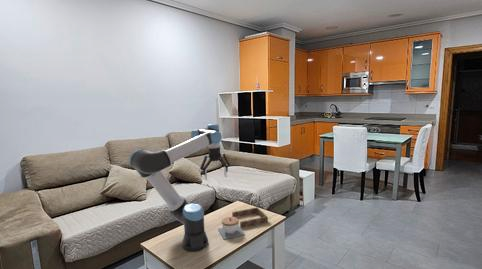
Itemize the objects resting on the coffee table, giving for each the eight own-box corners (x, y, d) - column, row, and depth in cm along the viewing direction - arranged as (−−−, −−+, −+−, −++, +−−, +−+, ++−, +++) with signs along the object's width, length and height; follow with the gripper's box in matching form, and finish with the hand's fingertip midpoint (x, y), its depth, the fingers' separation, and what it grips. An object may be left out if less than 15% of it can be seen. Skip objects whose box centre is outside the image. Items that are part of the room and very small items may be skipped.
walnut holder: (240, 228, 177) (240, 222, 177) (232, 217, 194) (232, 212, 193) (267, 222, 184) (267, 216, 184) (257, 212, 200) (257, 207, 200)
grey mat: (223, 239, 164) (223, 239, 164) (217, 229, 177) (217, 228, 177) (245, 235, 169) (245, 234, 169) (237, 225, 182) (237, 224, 182)
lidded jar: (238, 235, 167) (238, 221, 166) (221, 236, 167) (220, 222, 166) (239, 227, 178) (238, 213, 176) (223, 227, 178) (222, 214, 177)
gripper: (196, 150, 172) (198, 182, 175) (233, 146, 180) (235, 176, 183) (194, 148, 179) (196, 179, 182) (230, 144, 187) (231, 174, 190)
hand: (215, 178), depth 182 cm, fingers open, 13 cm apart
